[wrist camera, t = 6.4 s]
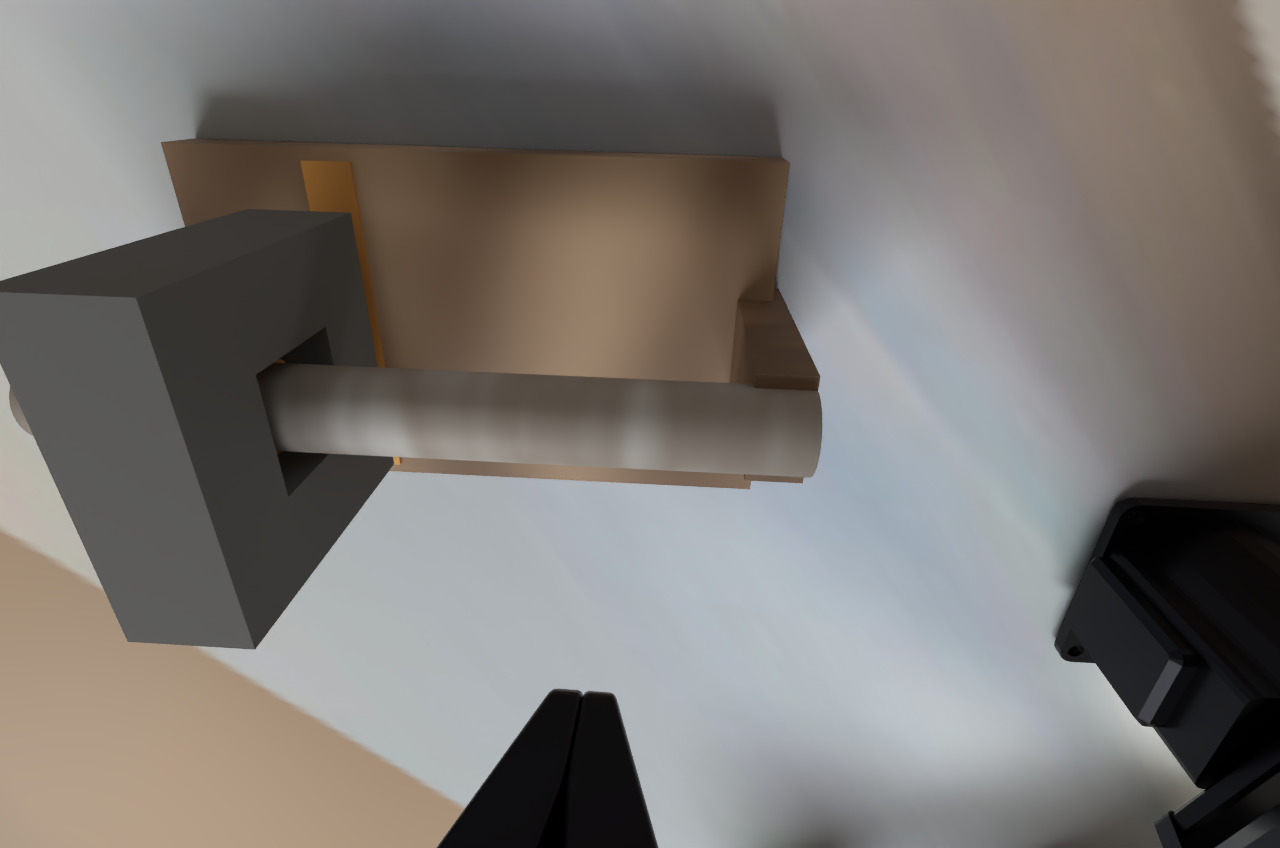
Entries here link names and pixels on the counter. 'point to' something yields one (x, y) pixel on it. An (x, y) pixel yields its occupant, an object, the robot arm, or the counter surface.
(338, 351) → the grey square collar
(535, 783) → the robot arm
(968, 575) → the counter surface
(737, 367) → the pipe stand
